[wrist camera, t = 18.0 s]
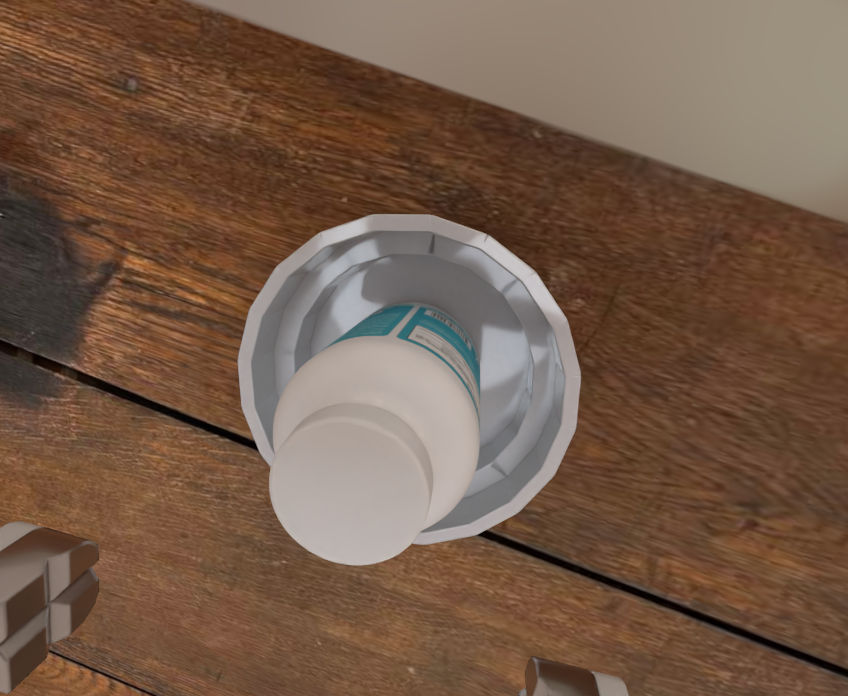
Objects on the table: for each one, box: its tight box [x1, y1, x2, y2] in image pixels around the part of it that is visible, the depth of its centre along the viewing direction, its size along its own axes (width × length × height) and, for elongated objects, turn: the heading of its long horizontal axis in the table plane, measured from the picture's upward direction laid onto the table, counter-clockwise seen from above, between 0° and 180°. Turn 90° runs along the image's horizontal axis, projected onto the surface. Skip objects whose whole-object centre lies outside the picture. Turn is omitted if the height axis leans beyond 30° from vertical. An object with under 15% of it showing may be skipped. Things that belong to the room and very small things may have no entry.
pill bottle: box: [269, 302, 480, 565], centre depth 19 cm, size 8×7×14 cm
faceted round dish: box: [238, 214, 581, 545], centre depth 24 cm, size 16×16×6 cm
